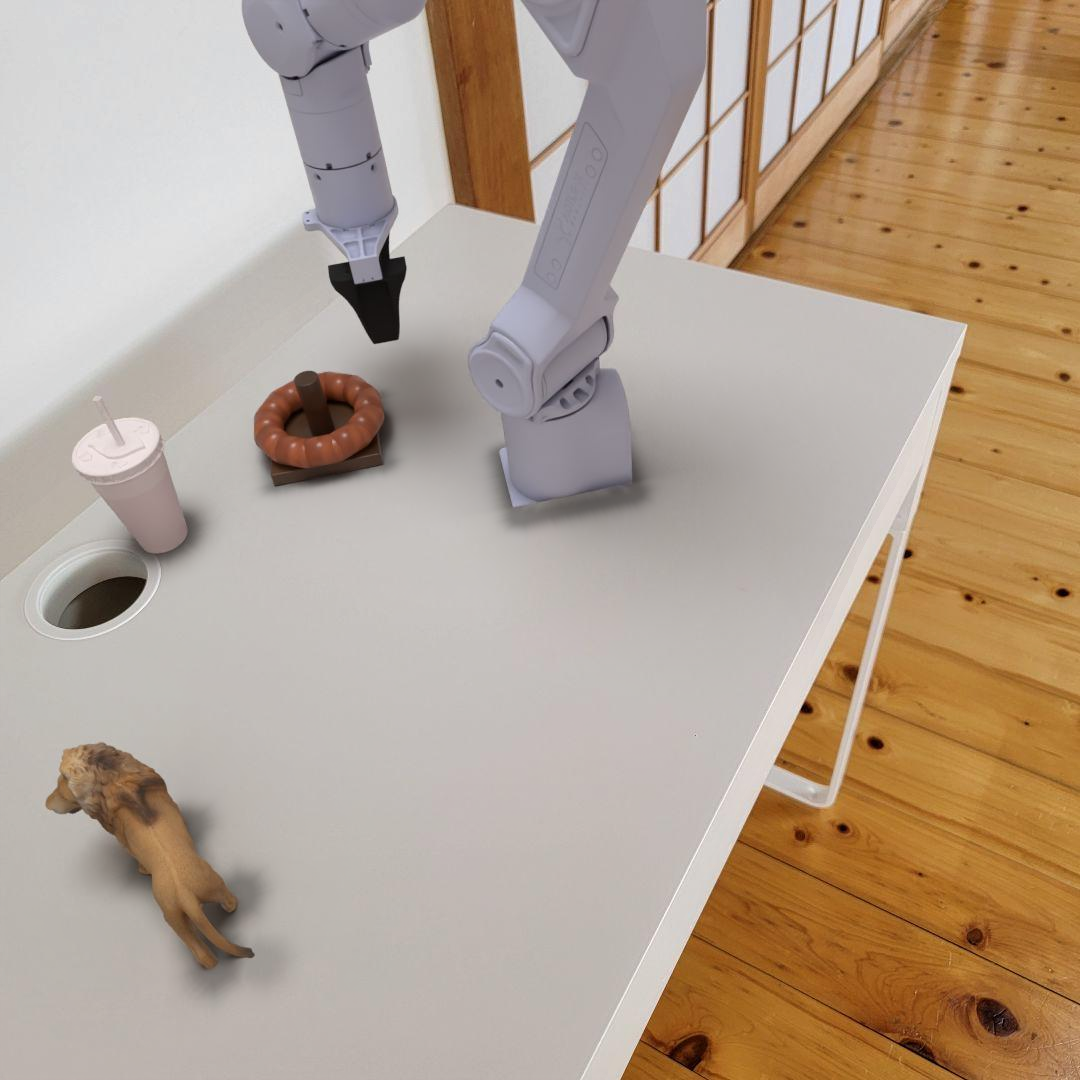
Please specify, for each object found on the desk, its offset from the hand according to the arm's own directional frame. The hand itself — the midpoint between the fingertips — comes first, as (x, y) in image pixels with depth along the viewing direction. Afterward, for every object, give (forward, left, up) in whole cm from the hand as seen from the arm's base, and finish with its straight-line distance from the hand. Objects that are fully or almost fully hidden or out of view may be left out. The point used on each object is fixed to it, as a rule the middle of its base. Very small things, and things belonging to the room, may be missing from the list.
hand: (381, 312), depth 81 cm
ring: (+7, +3, -7) cm, 10 cm away
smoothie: (+20, +11, -10) cm, 25 cm away
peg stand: (+7, +3, -9) cm, 12 cm away
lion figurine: (+17, +41, -10) cm, 45 cm away
